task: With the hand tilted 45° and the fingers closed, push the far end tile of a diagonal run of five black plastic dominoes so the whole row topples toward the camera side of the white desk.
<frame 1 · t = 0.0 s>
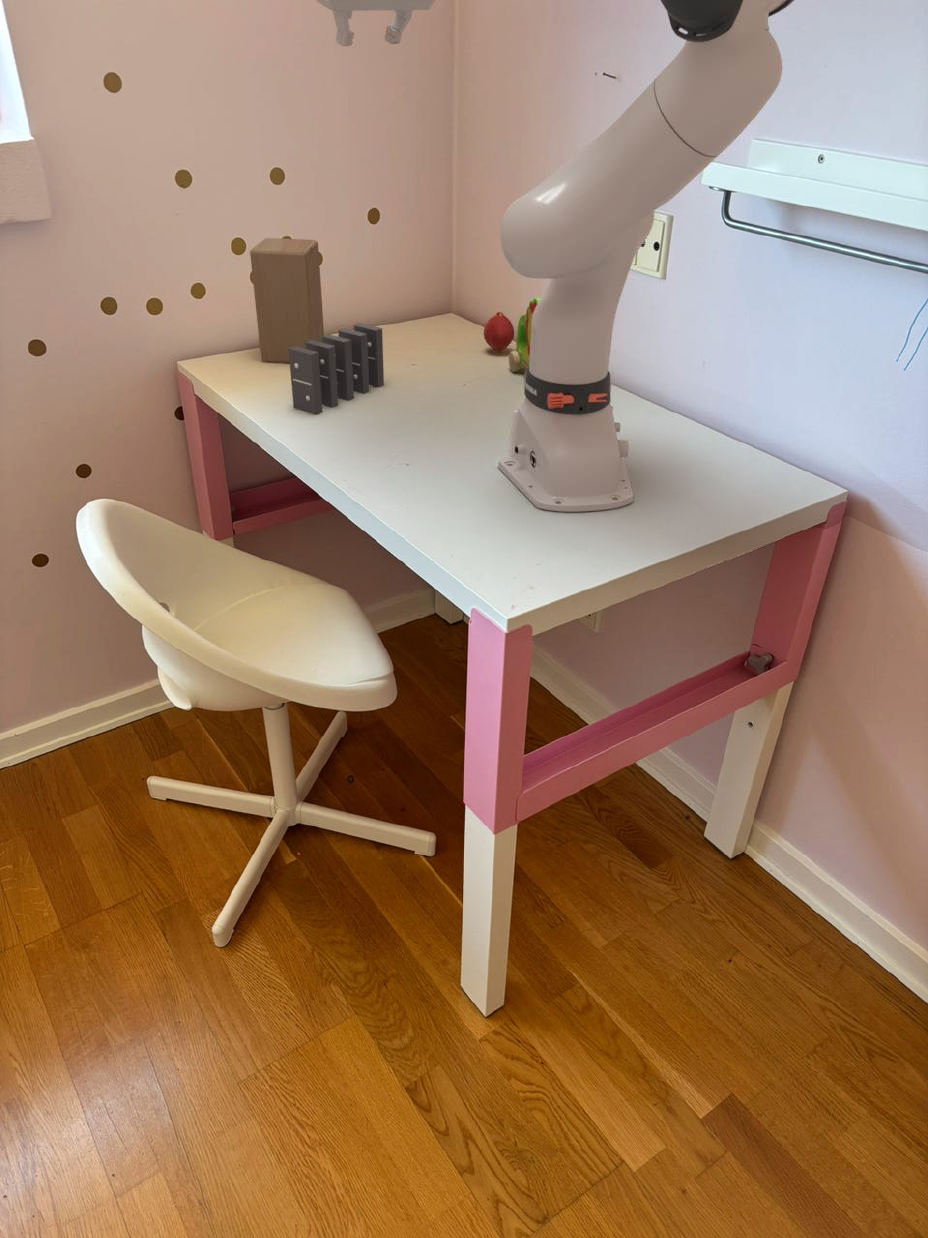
hand: (368, 43, 132), 52 cm above the table, tool tilted 20°, fingers open, 8 cm apart
domino 2: (355, 389, 166), on the table
domino 4: (324, 402, 160), on the table
domino 5: (307, 409, 157), on the table
domino 1: (370, 383, 168), on the table
wooden block: (293, 355, 180), on the table
domino 3: (339, 396, 163), on the table
onion: (498, 352, 184), on the table
toy lion: (533, 383, 170), on the table
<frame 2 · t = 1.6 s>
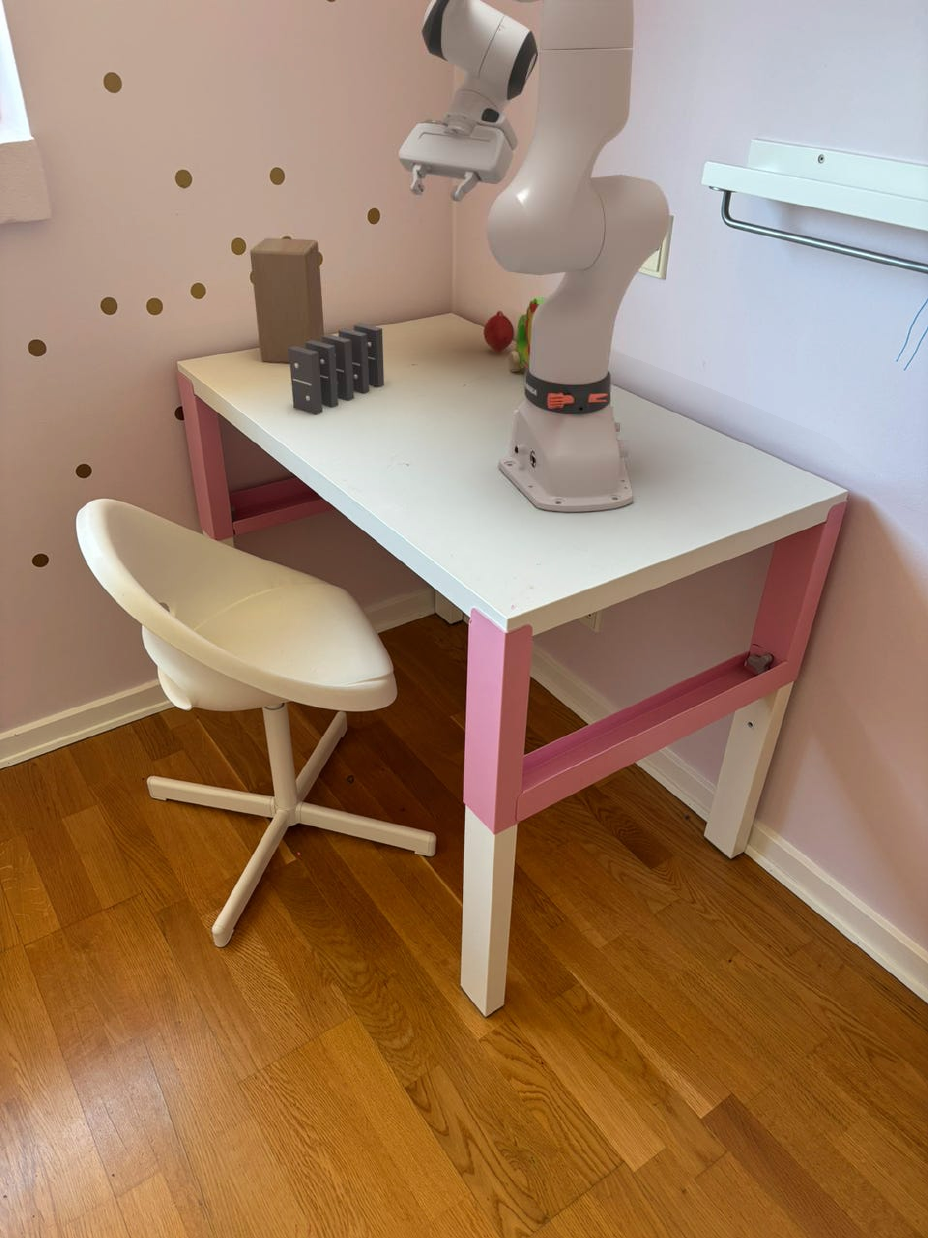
hand: (434, 195, 158), 30 cm above the table, tool tilted 45°, fingers open, 7 cm apart
nothing on the table moved.
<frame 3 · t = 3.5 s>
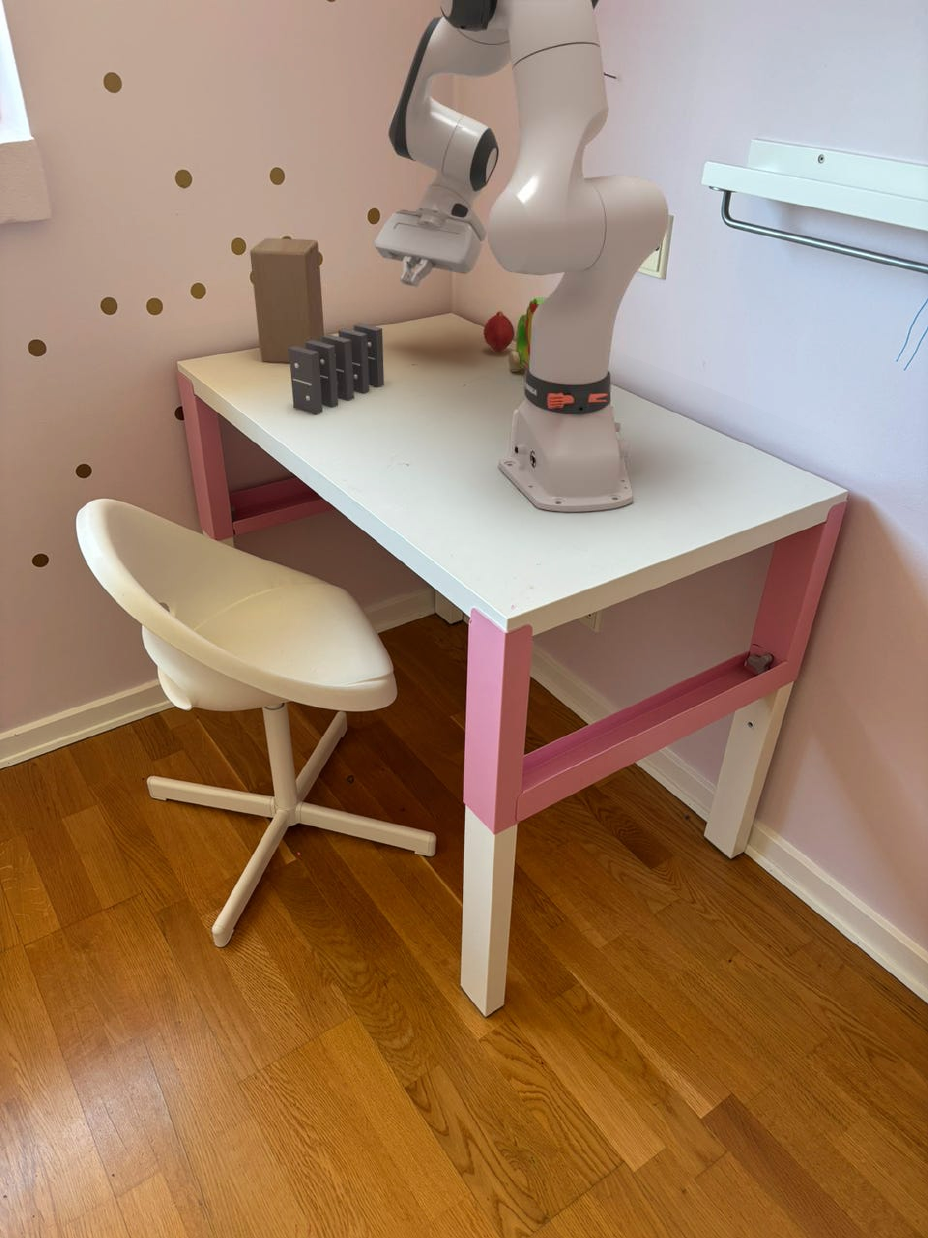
hand: (408, 283, 168), 15 cm above the table, tool tilted 45°, fingers closed
nothing on the table moved.
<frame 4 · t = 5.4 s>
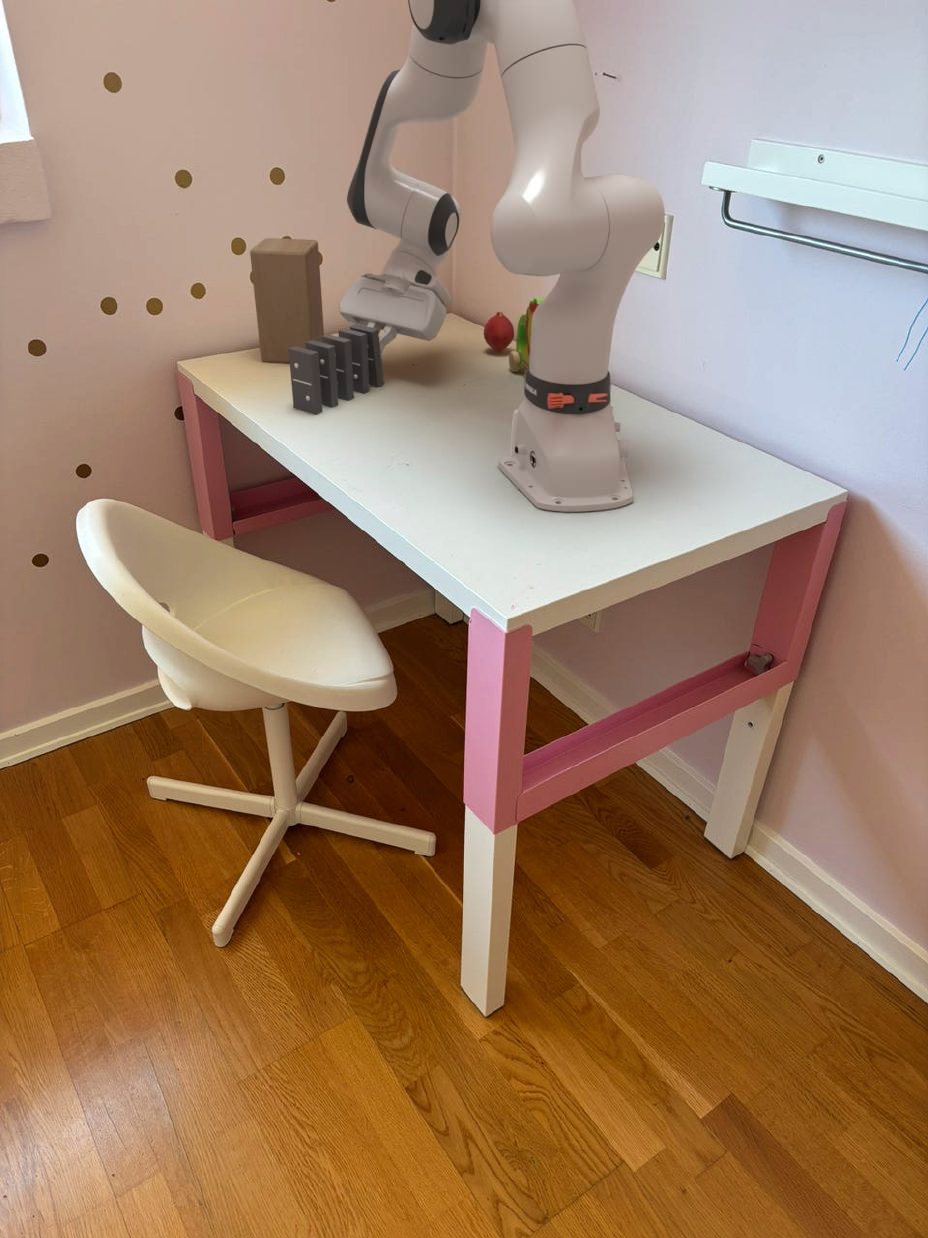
hand: (372, 349, 166), 6 cm above the table, tool tilted 45°, fingers closed
domino 1: (370, 382, 168), on the table, tilted 6°, touching gripper
everything else where it was.
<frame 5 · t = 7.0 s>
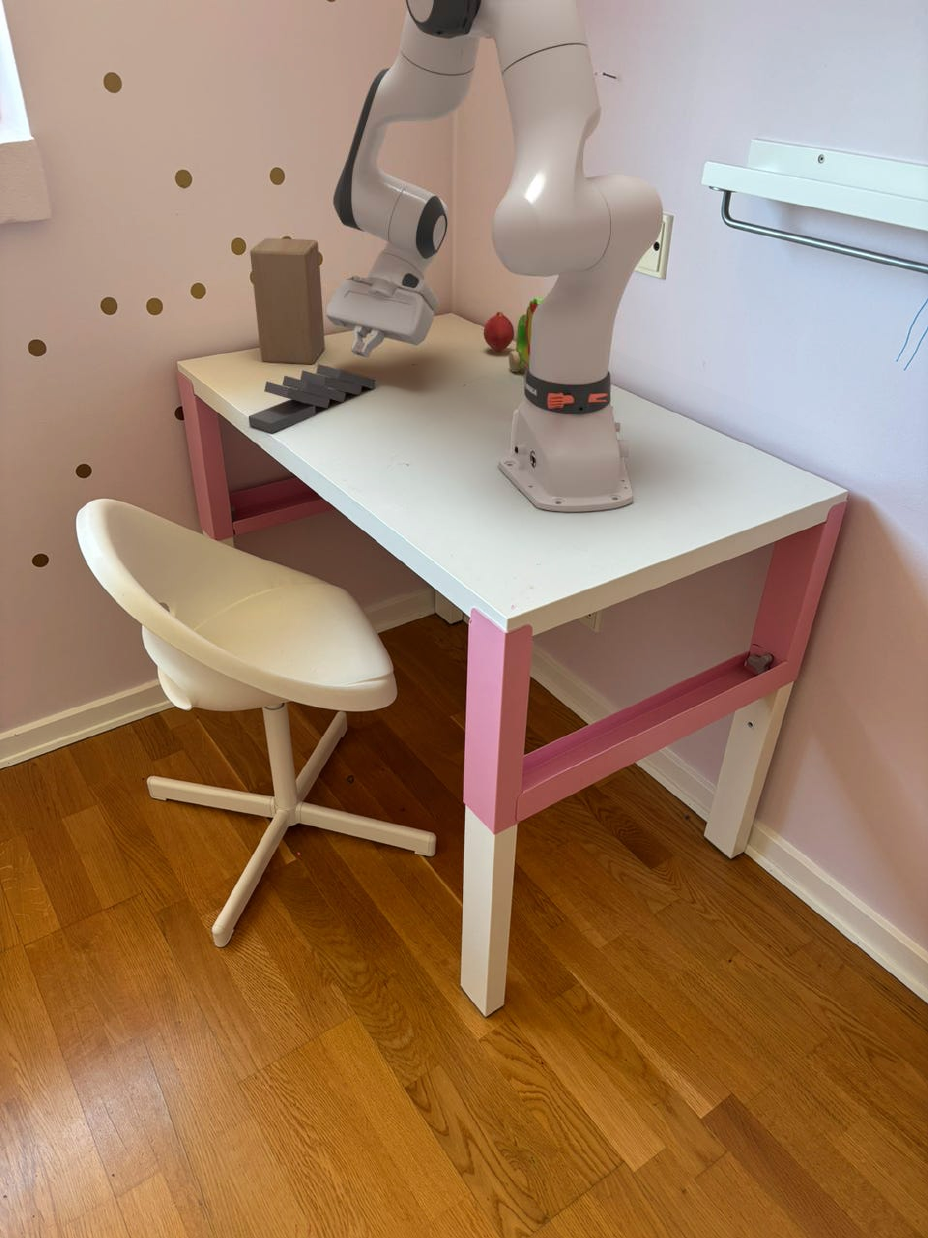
hand: (359, 354, 163), 6 cm above the table, tool tilted 45°, fingers closed
domino 2: (349, 387, 164), point 1 cm above the table, tilted 65°, touching domino 1, domino 3
domino 4: (317, 400, 159), point 1 cm above the table, tilted 63°, touching domino 3, domino 5
domino 5: (304, 406, 156), point 1 cm above the table, tilted 89°, touching domino 4
domino 1: (364, 381, 167), point 1 cm above the table, tilted 65°, touching domino 2
domino 3: (333, 394, 161), point 1 cm above the table, tilted 63°, touching domino 2, domino 4
everything else where it was.
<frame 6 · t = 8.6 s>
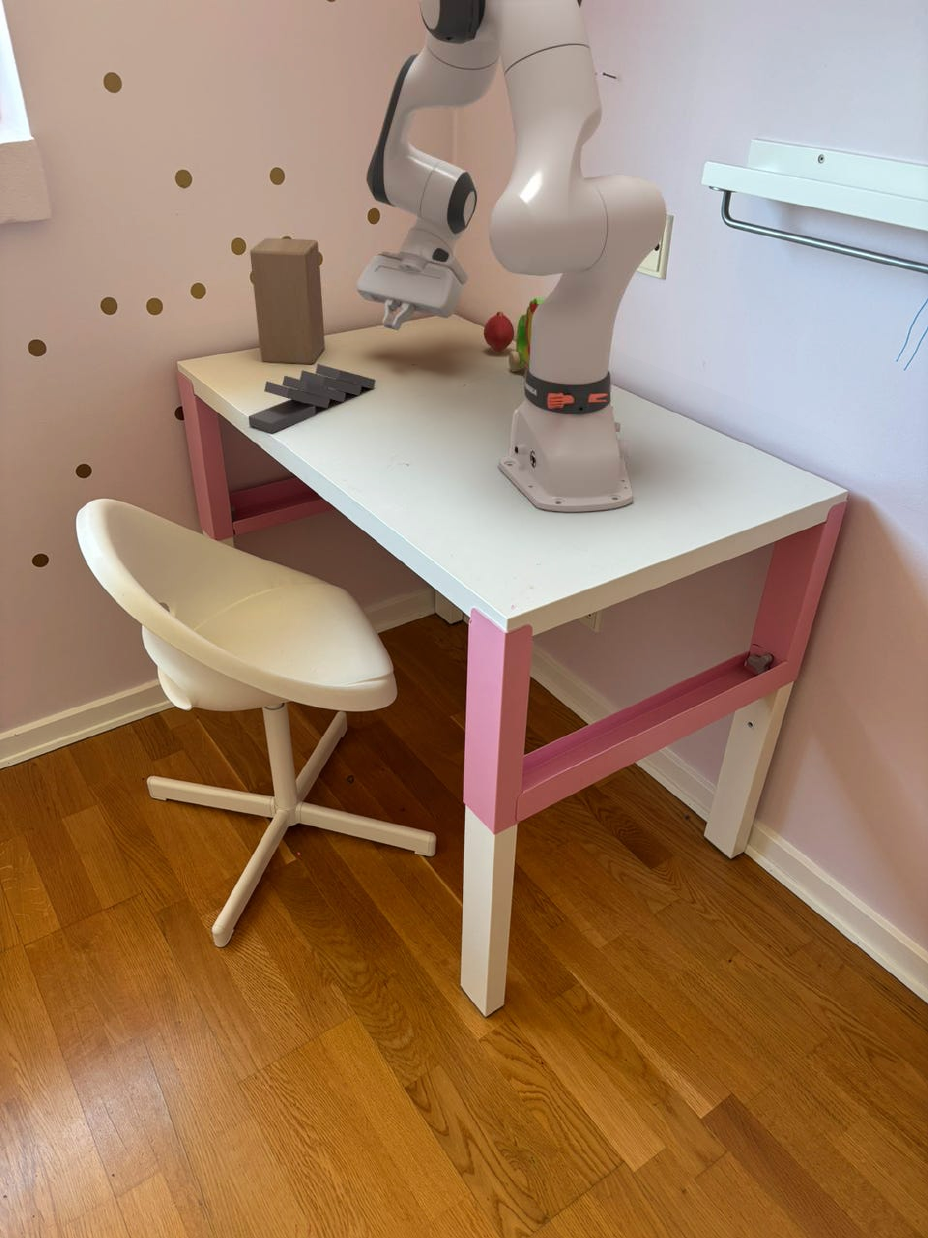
hand: (389, 327, 168), 8 cm above the table, tool tilted 45°, fingers closed
domino 3: (333, 394, 161), point 1 cm above the table, tilted 63°, touching domino 2, domino 4
everything else where it was.
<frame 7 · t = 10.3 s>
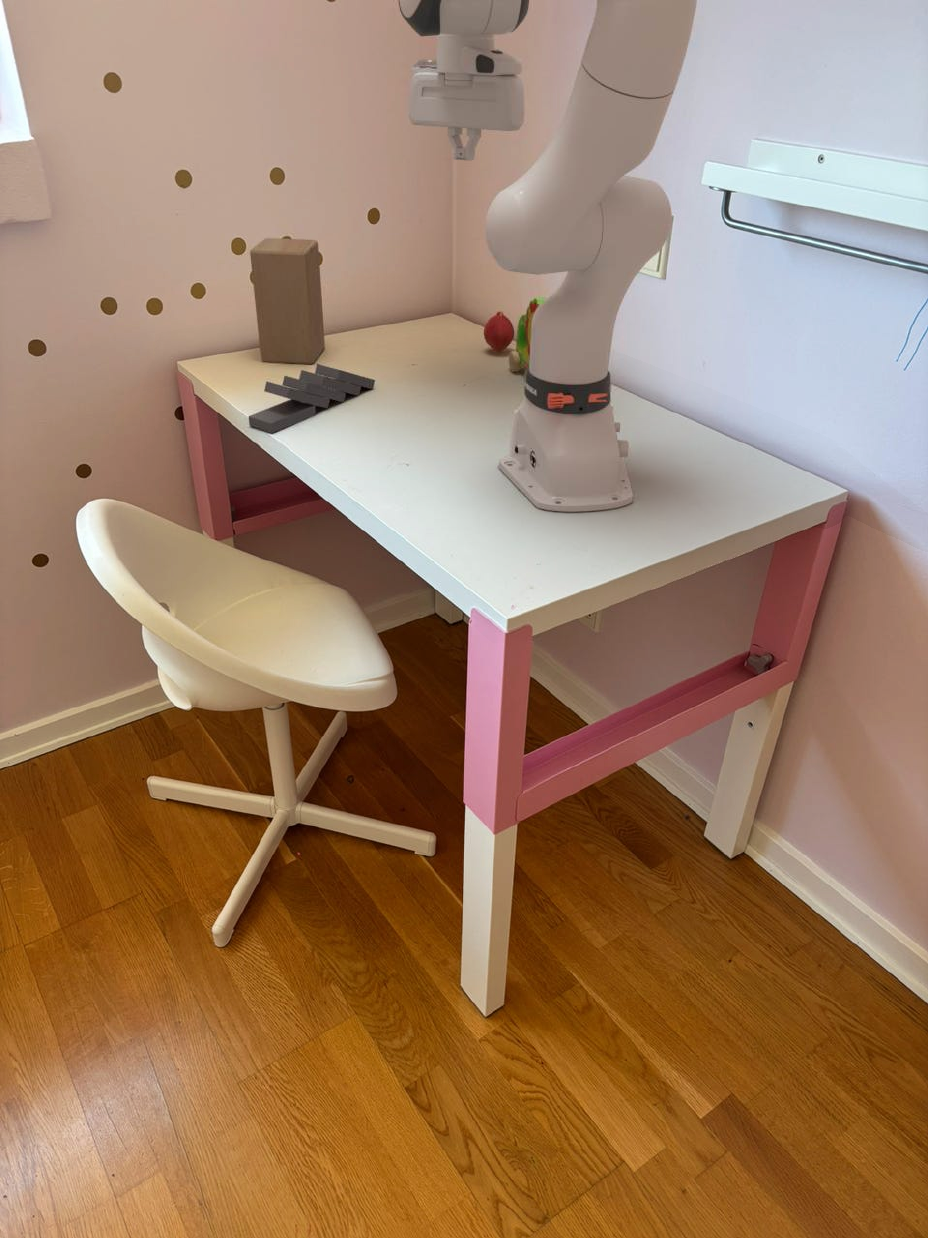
hand: (464, 159, 153), 36 cm above the table, tool pointing down, fingers closed
nothing on the table moved.
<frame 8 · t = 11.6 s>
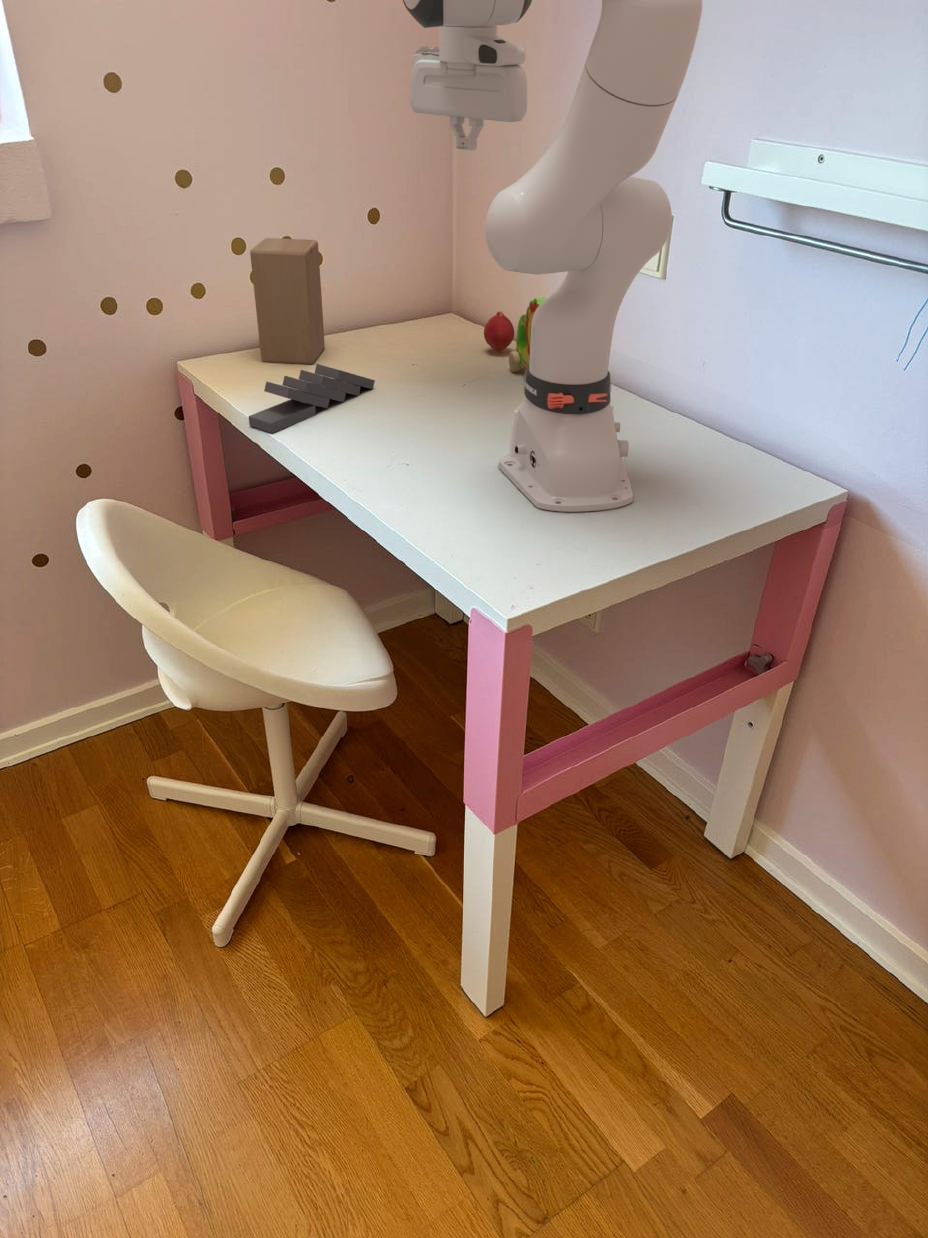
hand: (466, 149, 152), 37 cm above the table, tool pointing down, fingers closed
nothing on the table moved.
at the end: domino 5 tilted 89°; domino 1 tilted 64°; the gripper is holding nothing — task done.
